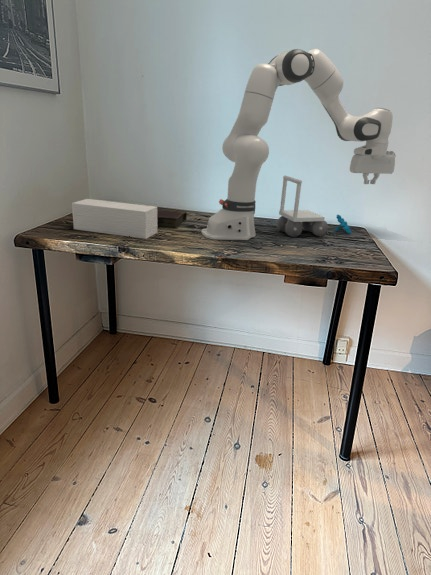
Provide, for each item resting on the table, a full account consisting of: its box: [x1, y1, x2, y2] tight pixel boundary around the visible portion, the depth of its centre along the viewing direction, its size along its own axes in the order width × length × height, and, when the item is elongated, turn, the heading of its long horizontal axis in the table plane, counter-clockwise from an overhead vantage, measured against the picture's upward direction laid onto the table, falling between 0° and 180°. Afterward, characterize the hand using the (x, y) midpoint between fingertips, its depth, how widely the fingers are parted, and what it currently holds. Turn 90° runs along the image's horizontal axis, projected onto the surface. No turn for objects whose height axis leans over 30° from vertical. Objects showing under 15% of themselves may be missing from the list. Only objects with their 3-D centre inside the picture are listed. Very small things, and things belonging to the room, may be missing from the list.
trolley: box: [276, 175, 329, 238], centre depth 173 cm, size 19×14×23 cm
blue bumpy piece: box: [333, 214, 352, 235], centre depth 183 cm, size 11×6×10 cm
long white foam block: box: [71, 198, 158, 240], centre depth 165 cm, size 32×11×11 cm, turn 73°
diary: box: [157, 208, 188, 230], centre depth 183 cm, size 19×25×5 cm
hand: (369, 184), depth 178 cm, fingers closed
